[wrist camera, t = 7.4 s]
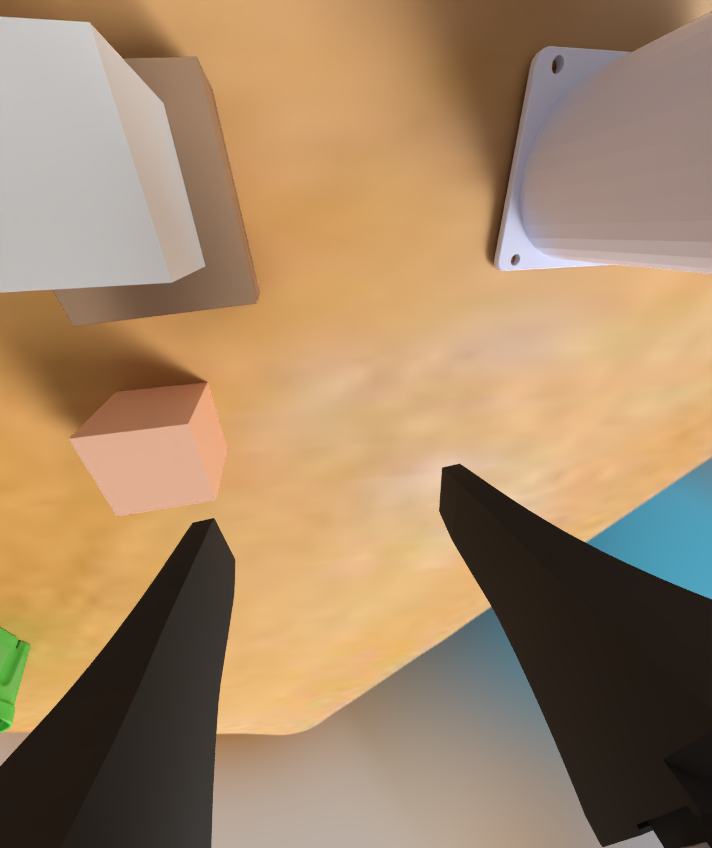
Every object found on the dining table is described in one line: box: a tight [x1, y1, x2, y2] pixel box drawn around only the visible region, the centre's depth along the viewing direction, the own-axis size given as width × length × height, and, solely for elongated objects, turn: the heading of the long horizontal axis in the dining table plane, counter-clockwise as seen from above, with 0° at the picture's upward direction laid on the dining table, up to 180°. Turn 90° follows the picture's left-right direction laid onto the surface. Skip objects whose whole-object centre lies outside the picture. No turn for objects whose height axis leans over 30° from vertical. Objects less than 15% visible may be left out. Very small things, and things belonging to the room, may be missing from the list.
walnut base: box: [53, 57, 260, 326], centre depth 12 cm, size 7×7×3 cm
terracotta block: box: [69, 382, 228, 516], centre depth 16 cm, size 4×4×4 cm
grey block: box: [0, 17, 205, 293], centre depth 9 cm, size 4×4×4 cm
